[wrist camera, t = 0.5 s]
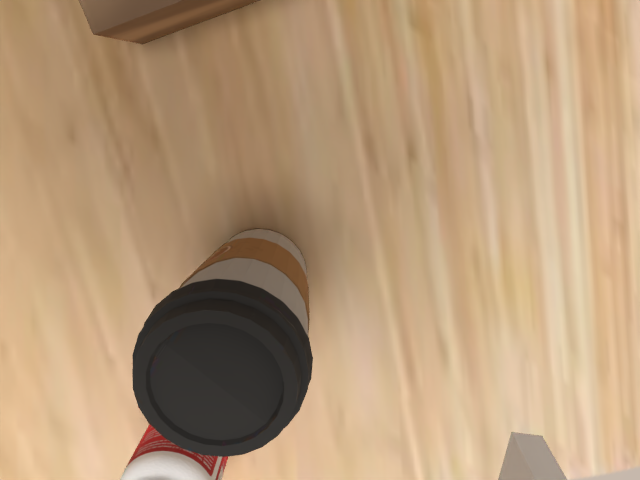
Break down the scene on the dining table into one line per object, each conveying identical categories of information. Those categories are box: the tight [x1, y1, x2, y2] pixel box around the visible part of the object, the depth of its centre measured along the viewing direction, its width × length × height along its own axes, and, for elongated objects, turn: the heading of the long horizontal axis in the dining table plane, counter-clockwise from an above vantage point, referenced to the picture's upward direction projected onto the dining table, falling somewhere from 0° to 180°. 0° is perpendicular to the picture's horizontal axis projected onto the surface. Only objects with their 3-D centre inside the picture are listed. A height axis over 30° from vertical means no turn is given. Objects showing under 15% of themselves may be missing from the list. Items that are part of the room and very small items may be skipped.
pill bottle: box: [120, 424, 228, 480], centre depth 36 cm, size 6×6×11 cm
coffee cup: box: [133, 229, 313, 457], centre depth 30 cm, size 8×8×15 cm
